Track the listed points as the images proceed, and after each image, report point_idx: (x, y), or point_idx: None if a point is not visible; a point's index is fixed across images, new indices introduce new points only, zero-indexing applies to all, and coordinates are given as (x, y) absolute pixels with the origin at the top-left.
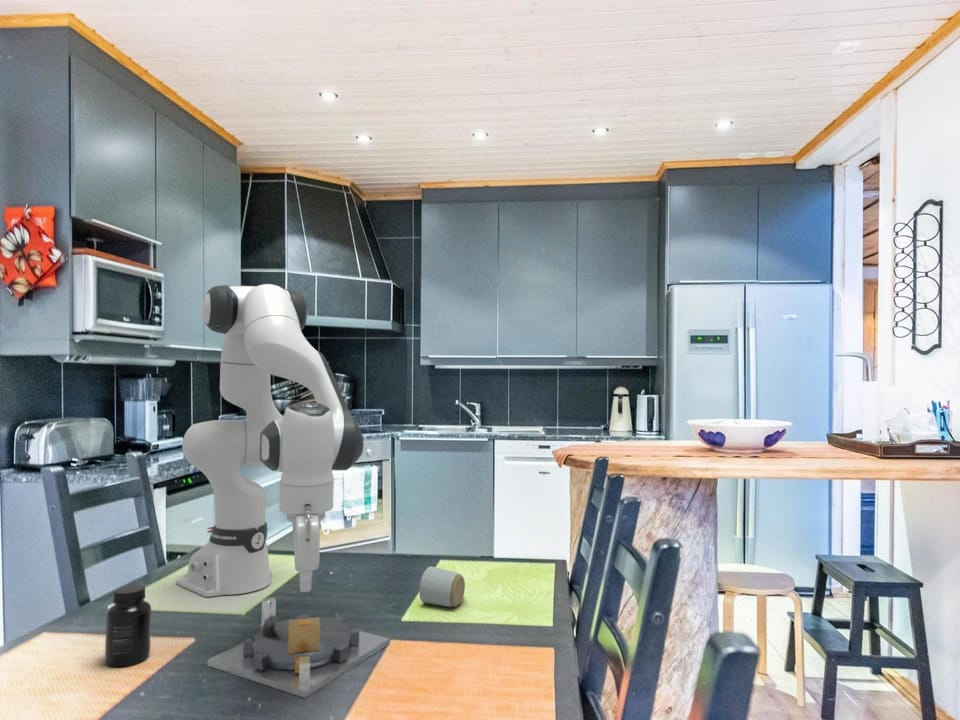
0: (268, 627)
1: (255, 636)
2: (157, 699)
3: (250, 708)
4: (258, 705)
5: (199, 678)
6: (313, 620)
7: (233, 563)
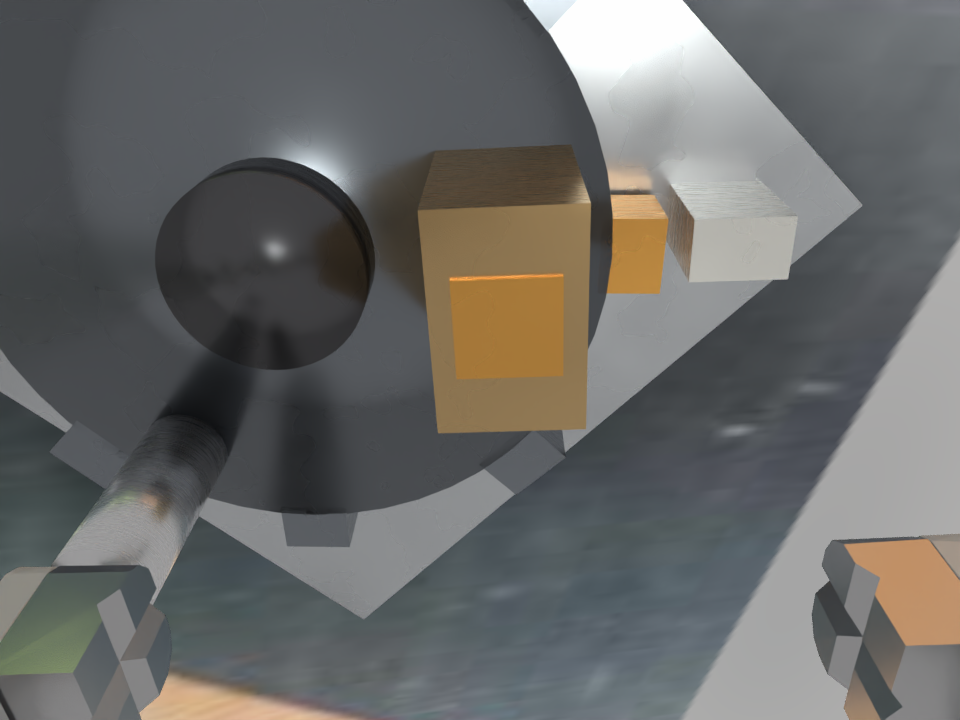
0: (214, 468)
1: (264, 503)
2: (612, 694)
3: (827, 421)
4: (816, 393)
5: (481, 608)
6: (485, 256)
7: None
